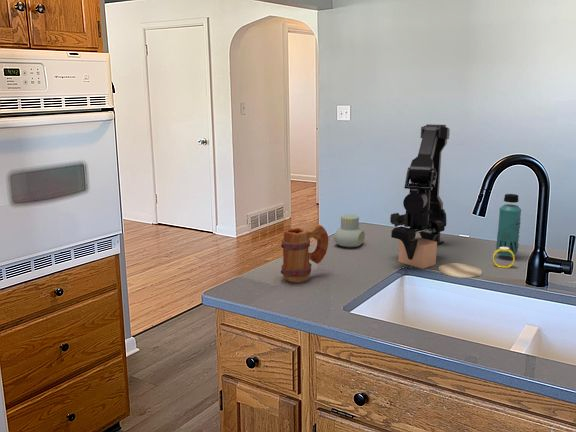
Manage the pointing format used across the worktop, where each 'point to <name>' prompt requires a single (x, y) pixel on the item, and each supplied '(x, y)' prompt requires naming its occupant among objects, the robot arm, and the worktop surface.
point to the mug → (302, 252)
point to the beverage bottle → (509, 226)
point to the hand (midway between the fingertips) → (417, 257)
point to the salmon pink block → (419, 253)
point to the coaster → (460, 270)
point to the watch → (503, 250)
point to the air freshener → (349, 232)
